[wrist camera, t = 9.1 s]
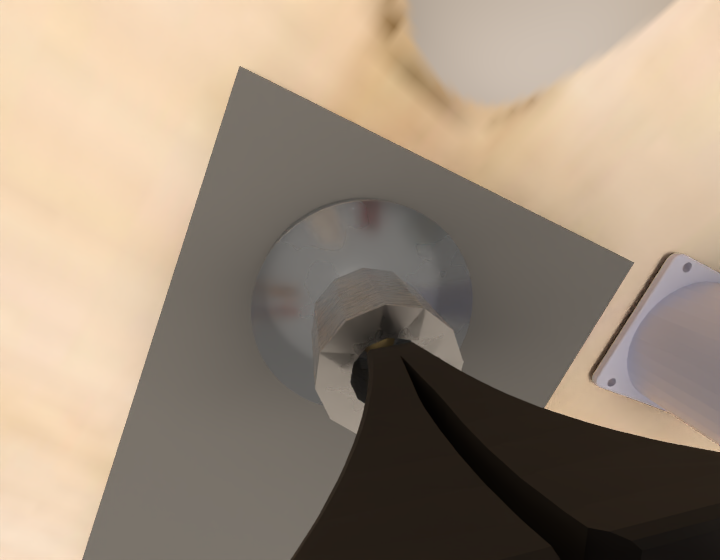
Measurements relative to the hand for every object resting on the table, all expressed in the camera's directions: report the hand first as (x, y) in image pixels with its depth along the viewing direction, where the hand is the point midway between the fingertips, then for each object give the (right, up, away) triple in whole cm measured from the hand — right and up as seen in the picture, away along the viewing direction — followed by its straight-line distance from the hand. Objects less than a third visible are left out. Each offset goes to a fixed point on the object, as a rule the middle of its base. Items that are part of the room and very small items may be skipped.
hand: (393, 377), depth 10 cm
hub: (-1, +2, +6) cm, 7 cm away
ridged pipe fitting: (-1, +1, +4) cm, 5 cm away
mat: (-2, -4, +8) cm, 9 cm away
